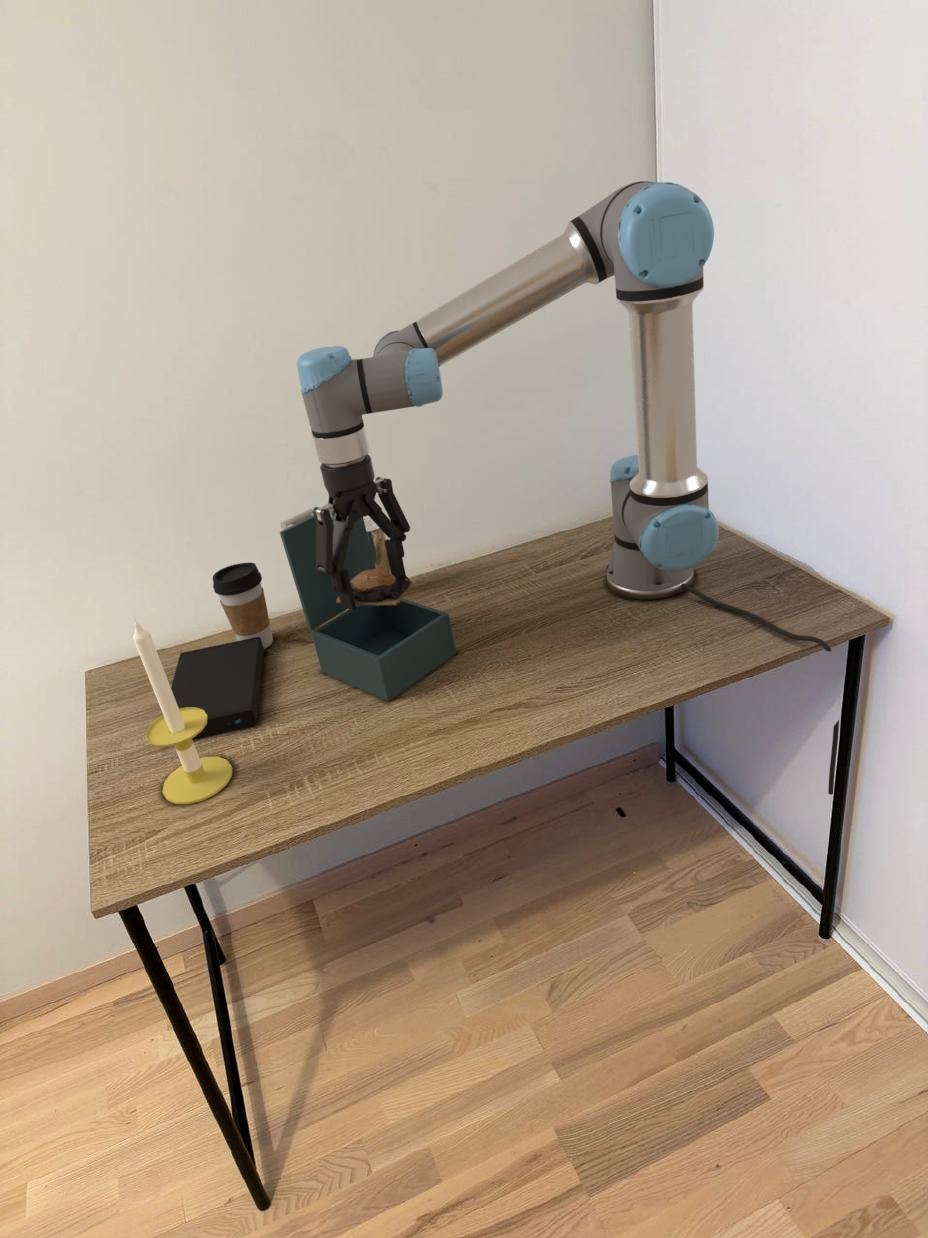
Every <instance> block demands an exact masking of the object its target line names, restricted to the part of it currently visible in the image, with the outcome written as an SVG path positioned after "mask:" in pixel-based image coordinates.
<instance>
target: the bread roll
mask: <svg viewBox="0 0 928 1238" xmlns="http://www.w3.org/2000/svg"><path fill="white" fill-rule="evenodd" d="M404 577H406V579H404V580H403V579H402V578H404ZM350 583H351V587H352V591H353V595H354V599H355V604H356V605H363V606H364V605H376V606H379V605H390V606H391V605H397V604H398V603H400V601H401V600H402V598H403V599H404V598H405V596H406V594H407V593H408V592H409V591H410V588H411V587H412V586H413V581H412V580H410V578H409V577H408V576H407V575H406V576H404V575H403V574H401V573H399V574H396V577H395V576H394V575H392V574H390V573H388V572H385V571H382V570H378V569H372V570H365V571H363V572H361V573H359V574H357V575H356V576H355V577H354V578H353V579H352V580H351V581H350ZM336 602H337V603H341V601H340V597H338V598H337V601H336Z"/></svg>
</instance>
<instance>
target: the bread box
mask: <svg viewBox="0 0 928 1238" xmlns="http://www.w3.org/2000/svg"><path fill="white" fill-rule="evenodd" d="M310 634H311V637H312V640H313V644H314V648H315V652H316V656H317V658H318V662H319V666H320V670H321V672H322V673H324V674H326V675H328V676H331V677H332V678H335V679H336V680H340V681H342V682H344V683H346V684H348V685H351V686H353V687H354V688H357V689H359V690H362V691H365V692H366V693H367V694H371V695H373V696H375V697H377V698H379V699H381V700H384V701H386V702H390V701H391V700H393V699H395V698H396V697H397V696H398V695H400V694H402V693H403V692H404V691H405V690H407V689H409V688H410V687H412V686H413V685H414V684H415V683H417V682H419V681H420V680H421V679H423V678H424V677H425V676H427V675H428V674H430V673H431V672H432V671H434V670H436V669H437V668H438V667H439V666H441V665H442V664H444V663H445V662H446V661H448V660H449V659H451V658H452V657H454V656H455V655H457V654H456V653H457V652H456V646H455V641H454V636H453V630H452V624H451V620H450V613H448V612H445V611H442V610H439V609H436V608H433V607H430V606H427V605H424V604H421V603H418V602H415V601H412V600H409V599H406V598H404V597H403V598H402V600H401V601H400V603H398V604H397V605H391V606H390V605H379V606H376V605H364V606H363V605H356V609H354V610H351V609H347V610H345V611H344V612H342V613H340V614H339V615H337V616H335V617H333V618H332V619H330V620H328V621H327V622H325V623H323V624H322V625H320V626H318V627H317V628H315V629H313V630H312V631H311V633H310Z"/></svg>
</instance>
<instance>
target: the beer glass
mask: <svg viewBox="0 0 928 1238" xmlns="http://www.w3.org/2000/svg"><path fill="white" fill-rule="evenodd" d="M363 519H364V523H365V527H366V531H367V535H368V539H369V543H370V547H371V551H372V555H373V559H374V563H375V567H376V569H378V570H382V571H385V572H388V573H390V574H391V570H390V566H389V561H388V556H387V552H386V547H385V542H384V541H385V540H387V539H389V540H390V538H389V537H387V535H386V534H385V533H384V532H383V531H382V530H381V529H380V528H379V527H378V526H377V524H376V523H375V522H374V521H373V520H372V519H371V518H370V517H367V518H365V517H364V518H363Z"/></svg>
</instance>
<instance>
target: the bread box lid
mask: <svg viewBox="0 0 928 1238" xmlns="http://www.w3.org/2000/svg"><path fill="white" fill-rule="evenodd" d="M334 514H335V512H334V511H333V513H332V515H333V516H334ZM333 519H334V518H333ZM333 519H332V523H333ZM364 519H365V518H364V517H361V518H360V519H359V520H358V521H356V522H355V523H354V527H353V529H352V530H351V531H350V536H349V541H348V546H347V551H346V556H345V561H344V566H343V569H344V570H347V571H348V574H349V578H350V581H351V580H352V579H353V578H354V577H355V576H356V575H357V574H359V573H361V572H363V571H365V570H372V569H376V567H375V563H374V559H373V555H372V551H371V547H370V543H369V539H368V535H367V531H366V527H365V523H364ZM342 522H344V523H346V520H343V519H342ZM279 525H280V528H281V530H280V531H279V535H280V538H281V542H282V545H283V549H284V552H285V555H286V558H287V561H288V562H287V563H288V565H289V568H290V572H291V575H292V578H293V581H294V585H295V588H296V591H297V595H298V598H299V601H300V604H301V608H302V611H303V614H304V617H305V621H306V624H307V627H308V630H310V631H314V630H316V629H317V628H319V627H321V626H322V625H324V624H326V623H327V622H329V621H331V620H332V619H334V618H336V617H338V616H339V615H341V614H343V613H344V612H346V611H348V610H349V609H348V608H345V607H342V605H341V603H337V602H336V601H337V598H338V597H339V593H338V592H337V591H335V590H334V589H333V585H332V581H331V577H330V575H326V574H323V573H320V572H318V571H317V570H316V521H315V518H314V514H313V509H312V508H308V509H306V510H304V511H302V512H300V513H297V514H295V515H293V516H291V517H289V518H287V519H285V520H283V521H281V522H280V523H279ZM333 530H334V525H333Z"/></svg>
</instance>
